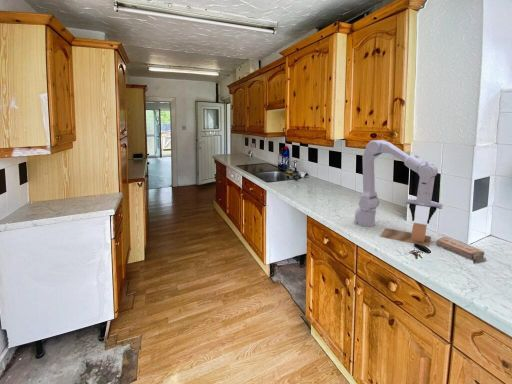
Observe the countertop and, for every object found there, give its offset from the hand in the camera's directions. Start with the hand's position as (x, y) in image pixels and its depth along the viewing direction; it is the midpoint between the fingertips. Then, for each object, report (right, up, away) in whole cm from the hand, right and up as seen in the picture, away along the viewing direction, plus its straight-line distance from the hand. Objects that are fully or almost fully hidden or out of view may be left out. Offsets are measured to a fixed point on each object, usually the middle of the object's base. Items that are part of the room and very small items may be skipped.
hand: (420, 221), depth 136 cm
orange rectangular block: (0, -8, +2) cm, 8 cm away
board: (-4, -8, +5) cm, 11 cm away
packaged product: (+10, -13, -9) cm, 19 cm away
